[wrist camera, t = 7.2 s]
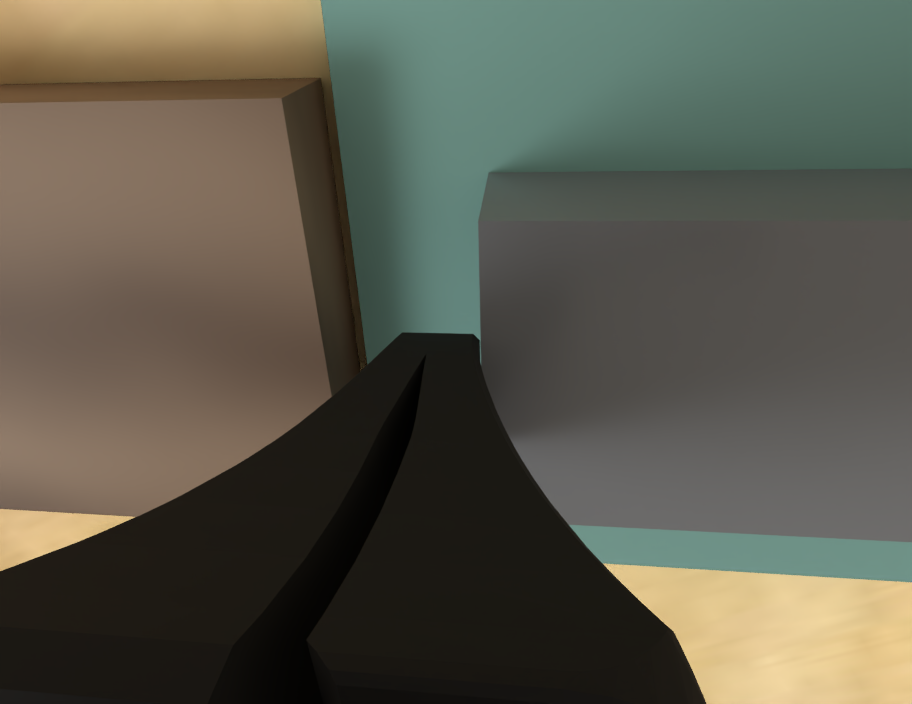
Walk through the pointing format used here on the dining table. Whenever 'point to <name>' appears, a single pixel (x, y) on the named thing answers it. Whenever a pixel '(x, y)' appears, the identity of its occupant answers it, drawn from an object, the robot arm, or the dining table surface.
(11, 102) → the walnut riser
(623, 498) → the slate tile
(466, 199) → the teal mat
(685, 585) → the dining table surface
